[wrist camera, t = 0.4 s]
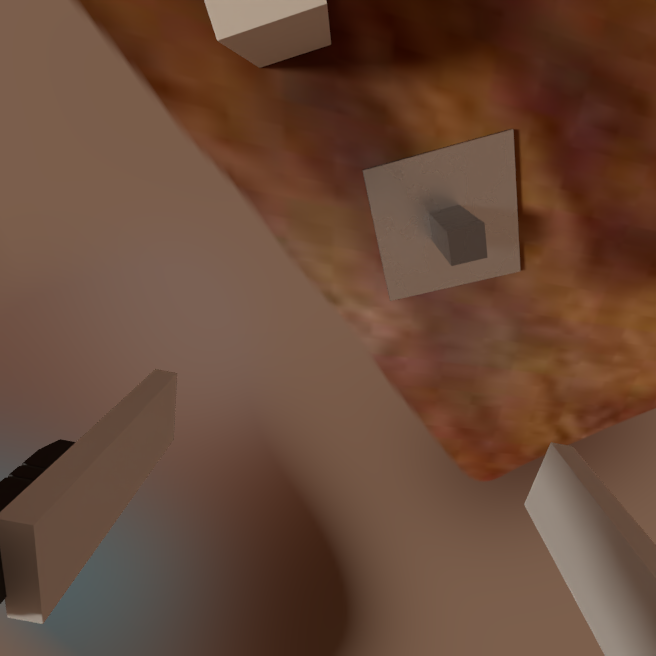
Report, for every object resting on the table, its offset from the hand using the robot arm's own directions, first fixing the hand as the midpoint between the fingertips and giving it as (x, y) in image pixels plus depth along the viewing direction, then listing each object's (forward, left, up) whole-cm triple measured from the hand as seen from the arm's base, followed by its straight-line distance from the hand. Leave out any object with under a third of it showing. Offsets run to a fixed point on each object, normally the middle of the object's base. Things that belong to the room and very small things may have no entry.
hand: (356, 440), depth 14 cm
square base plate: (-7, +5, -25) cm, 27 cm away
